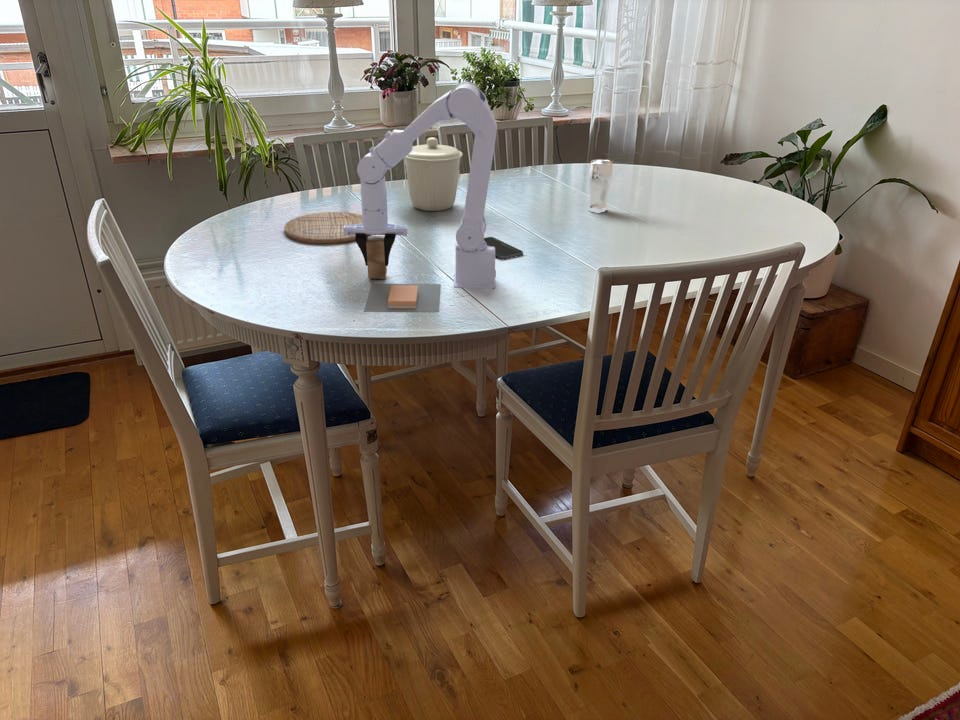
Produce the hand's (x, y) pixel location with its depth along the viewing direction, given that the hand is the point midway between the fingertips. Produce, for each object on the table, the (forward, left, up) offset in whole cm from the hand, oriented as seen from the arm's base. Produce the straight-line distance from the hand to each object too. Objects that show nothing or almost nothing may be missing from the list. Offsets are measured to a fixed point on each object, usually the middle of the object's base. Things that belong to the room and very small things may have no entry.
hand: (377, 264), depth 174 cm
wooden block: (0, 0, -3) cm, 3 cm away
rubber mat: (-7, +12, -4) cm, 14 cm away
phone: (-29, -22, -4) cm, 37 cm away
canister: (-11, -61, -4) cm, 62 cm away
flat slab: (-7, +9, -2) cm, 12 cm away
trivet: (+17, -37, -4) cm, 41 cm away
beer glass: (-62, -59, -4) cm, 86 cm away
